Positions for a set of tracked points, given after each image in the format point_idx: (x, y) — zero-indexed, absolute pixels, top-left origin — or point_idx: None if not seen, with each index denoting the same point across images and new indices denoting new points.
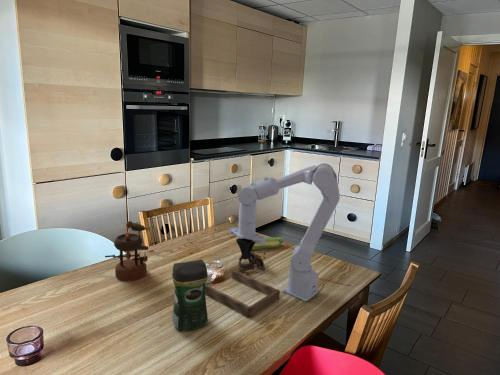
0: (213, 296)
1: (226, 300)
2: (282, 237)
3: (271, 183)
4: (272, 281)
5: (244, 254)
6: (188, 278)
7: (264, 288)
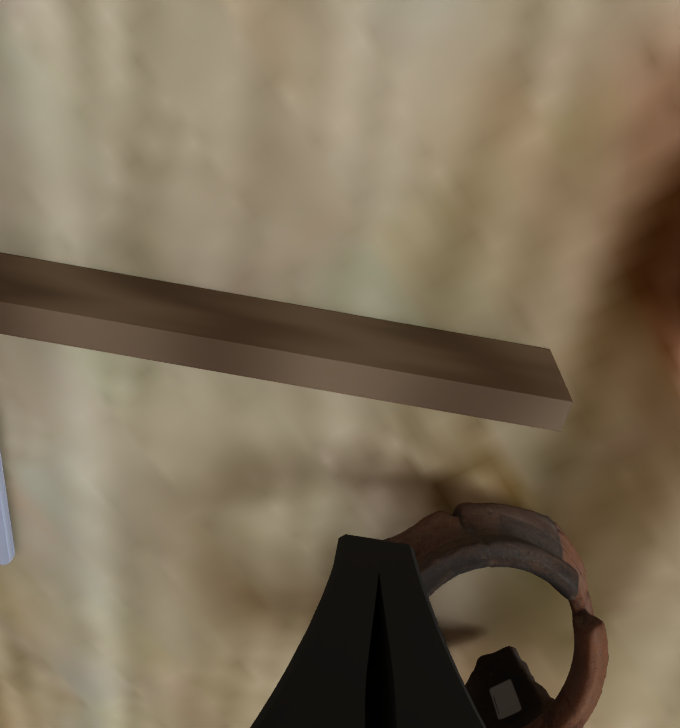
0: None
1: None
2: None
3: None
4: (176, 498)
5: (344, 613)
6: None
7: (55, 292)
